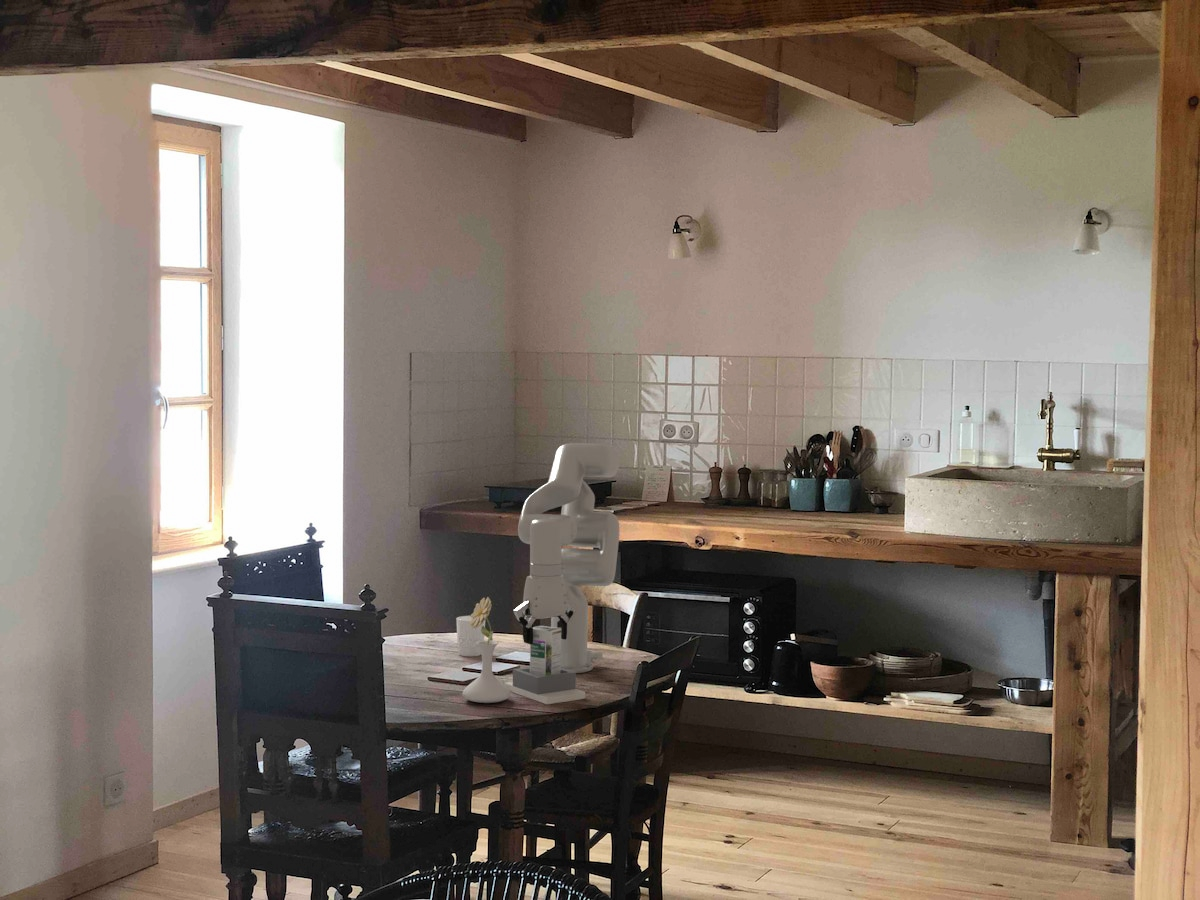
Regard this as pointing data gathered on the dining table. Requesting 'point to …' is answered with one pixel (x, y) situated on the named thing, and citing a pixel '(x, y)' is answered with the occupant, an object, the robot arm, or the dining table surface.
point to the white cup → (468, 637)
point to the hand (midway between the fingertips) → (545, 640)
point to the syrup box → (545, 651)
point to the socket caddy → (545, 686)
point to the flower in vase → (485, 663)
